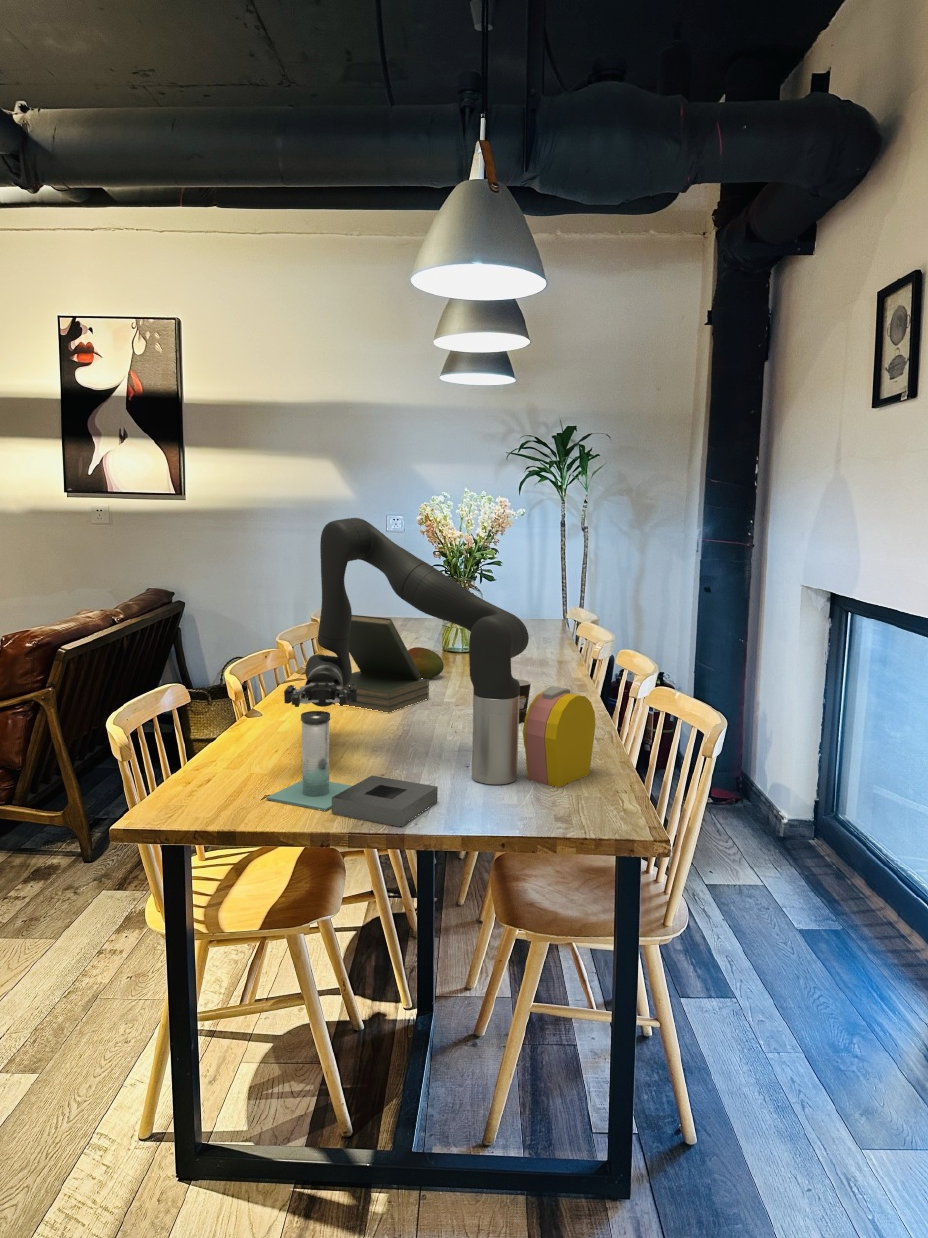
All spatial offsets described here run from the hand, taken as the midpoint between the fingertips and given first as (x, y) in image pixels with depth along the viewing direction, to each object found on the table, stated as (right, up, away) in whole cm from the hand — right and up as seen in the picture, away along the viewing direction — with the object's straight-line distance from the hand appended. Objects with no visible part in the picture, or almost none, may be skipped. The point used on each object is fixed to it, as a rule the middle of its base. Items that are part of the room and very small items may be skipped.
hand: (319, 701), depth 166 cm
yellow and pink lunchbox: (+47, -16, +10) cm, 51 cm away
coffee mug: (+39, -10, +55) cm, 68 cm away
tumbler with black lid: (0, -17, -4) cm, 17 cm away
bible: (+3, -7, +74) cm, 74 cm away
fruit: (+15, -3, +106) cm, 107 cm away
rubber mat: (0, -17, -4) cm, 18 cm away
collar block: (+14, -18, -10) cm, 25 cm away
